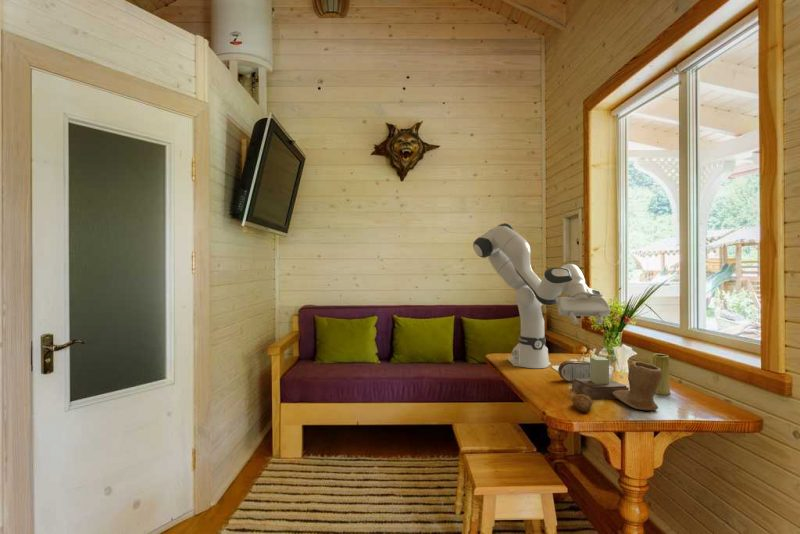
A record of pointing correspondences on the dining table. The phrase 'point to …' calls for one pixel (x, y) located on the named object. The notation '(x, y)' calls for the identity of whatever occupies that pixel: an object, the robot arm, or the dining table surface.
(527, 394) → the dining table surface
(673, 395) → the dining table surface
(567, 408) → the dining table surface
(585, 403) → the brown rounded lump
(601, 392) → the plinth
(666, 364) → the vase
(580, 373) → the tin
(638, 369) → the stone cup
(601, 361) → the block
